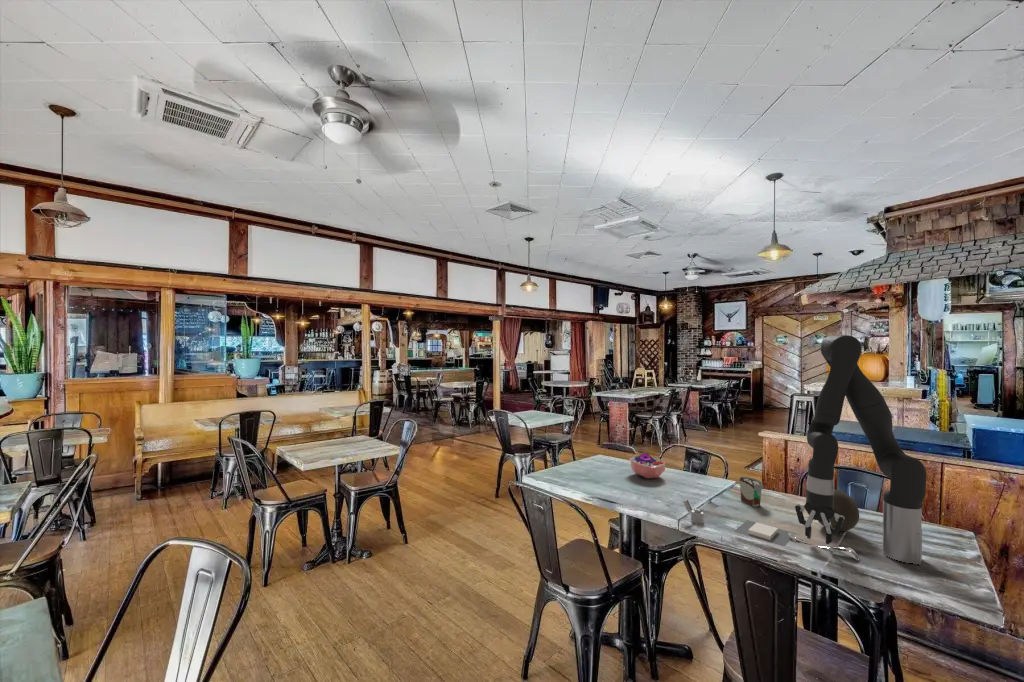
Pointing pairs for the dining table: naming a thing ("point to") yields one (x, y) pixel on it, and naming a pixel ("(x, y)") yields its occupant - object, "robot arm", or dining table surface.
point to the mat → (779, 539)
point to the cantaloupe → (844, 511)
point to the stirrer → (840, 548)
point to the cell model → (647, 466)
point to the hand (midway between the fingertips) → (818, 540)
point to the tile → (763, 531)
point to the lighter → (694, 513)
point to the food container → (750, 491)
